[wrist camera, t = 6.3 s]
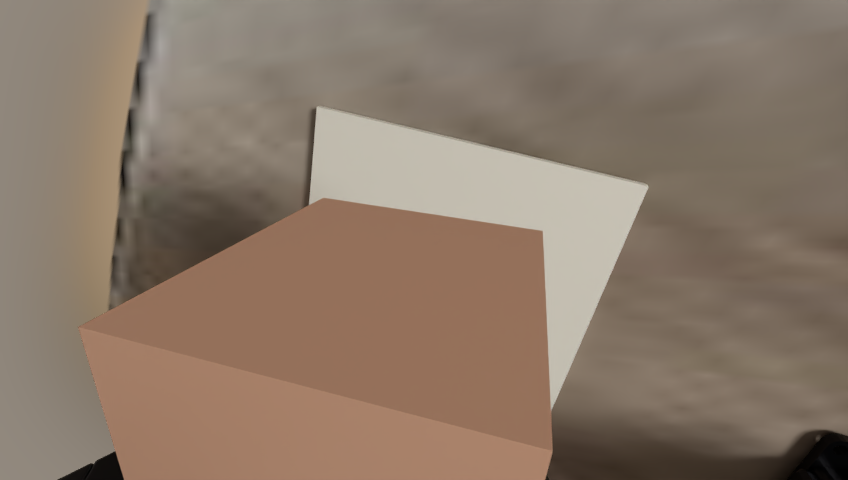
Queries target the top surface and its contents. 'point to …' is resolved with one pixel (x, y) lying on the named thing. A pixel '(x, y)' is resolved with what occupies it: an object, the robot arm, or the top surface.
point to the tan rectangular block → (336, 355)
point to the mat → (489, 205)
